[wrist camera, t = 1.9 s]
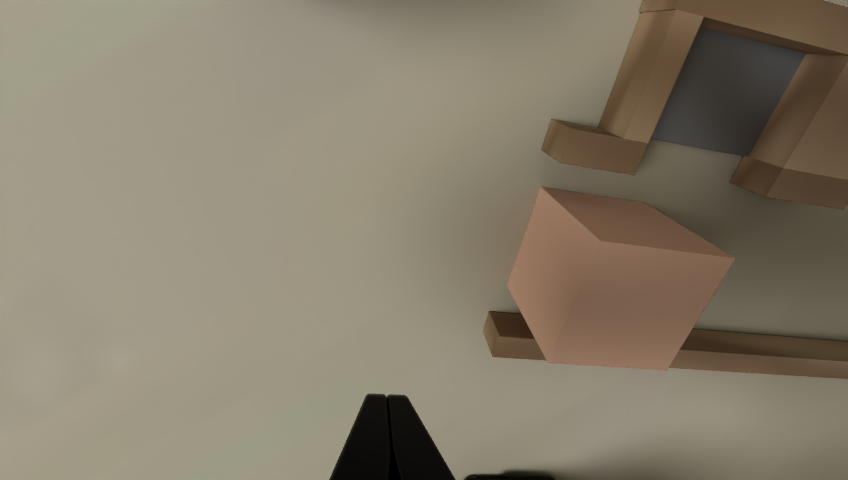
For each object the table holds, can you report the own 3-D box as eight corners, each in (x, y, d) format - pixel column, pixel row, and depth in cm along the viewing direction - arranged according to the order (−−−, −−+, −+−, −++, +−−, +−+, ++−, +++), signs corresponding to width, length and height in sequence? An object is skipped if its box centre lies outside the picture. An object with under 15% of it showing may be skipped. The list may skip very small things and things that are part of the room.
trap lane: (868, 359, 24) (918, 391, 22) (482, 330, 20) (496, 368, 17) (1105, 97, 18) (1211, 106, 15) (603, -43, 13) (651, -60, 11)
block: (600, 294, 20) (666, 370, 15) (506, 285, 19) (547, 362, 14) (643, 202, 17) (735, 258, 13) (539, 186, 16) (600, 241, 12)
